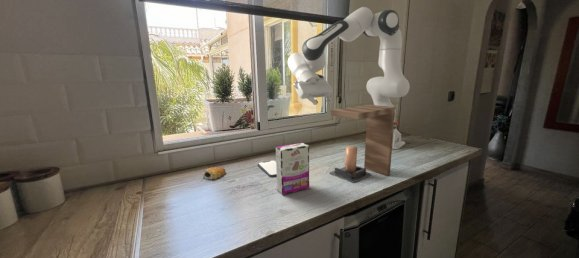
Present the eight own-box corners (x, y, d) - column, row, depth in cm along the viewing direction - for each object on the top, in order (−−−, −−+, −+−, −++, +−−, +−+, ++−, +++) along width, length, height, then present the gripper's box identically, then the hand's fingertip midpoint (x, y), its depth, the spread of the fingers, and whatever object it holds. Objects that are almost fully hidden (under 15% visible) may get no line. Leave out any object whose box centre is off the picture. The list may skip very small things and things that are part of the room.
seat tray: (347, 167, 115) (347, 161, 114) (370, 175, 106) (371, 169, 105) (329, 173, 107) (329, 168, 107) (353, 183, 98) (353, 176, 98)
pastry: (218, 170, 112) (217, 162, 111) (229, 173, 109) (229, 165, 108) (201, 178, 104) (200, 169, 103) (213, 181, 101) (212, 172, 100)
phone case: (289, 175, 108) (274, 163, 121) (289, 171, 107) (274, 159, 121) (270, 179, 104) (256, 166, 118) (270, 175, 103) (256, 162, 117)
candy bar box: (302, 183, 98) (302, 142, 94) (309, 188, 93) (310, 145, 90) (275, 190, 93) (275, 146, 89) (282, 195, 88) (281, 149, 85)
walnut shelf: (364, 167, 115) (368, 104, 109) (389, 174, 106) (395, 107, 100) (328, 181, 100) (330, 109, 94) (354, 192, 91) (358, 113, 85)
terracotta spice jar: (349, 170, 109) (350, 145, 107) (357, 173, 106) (359, 147, 104) (342, 172, 107) (343, 147, 104) (351, 176, 103) (352, 149, 101)
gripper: (295, 76, 114) (310, 100, 109) (325, 75, 127) (341, 96, 122) (288, 86, 119) (303, 109, 113) (319, 84, 132) (333, 105, 126)
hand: (323, 102), depth 118 cm, fingers open, 8 cm apart
